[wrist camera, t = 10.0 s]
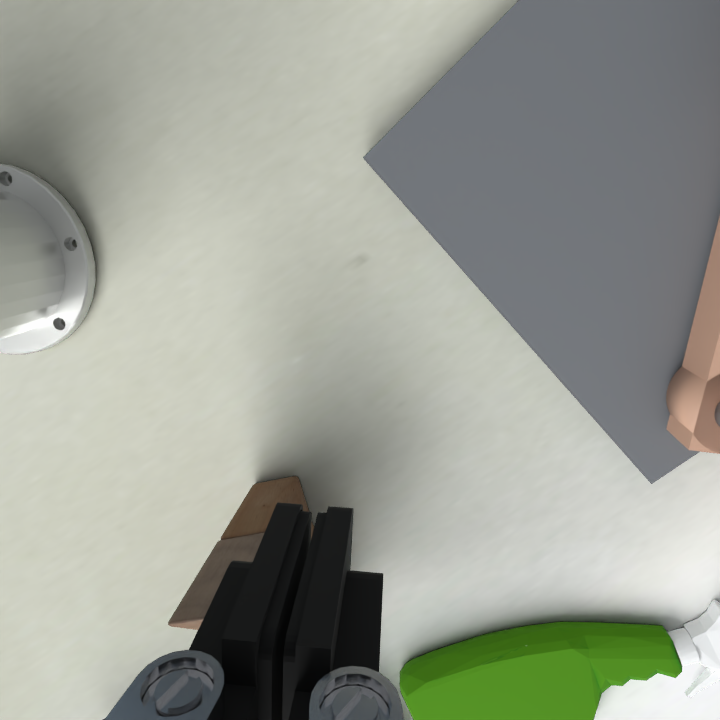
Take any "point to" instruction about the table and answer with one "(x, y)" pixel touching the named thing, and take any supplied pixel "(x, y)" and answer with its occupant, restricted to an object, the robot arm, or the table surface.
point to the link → (700, 369)
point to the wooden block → (236, 545)
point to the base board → (580, 192)
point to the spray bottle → (554, 668)
